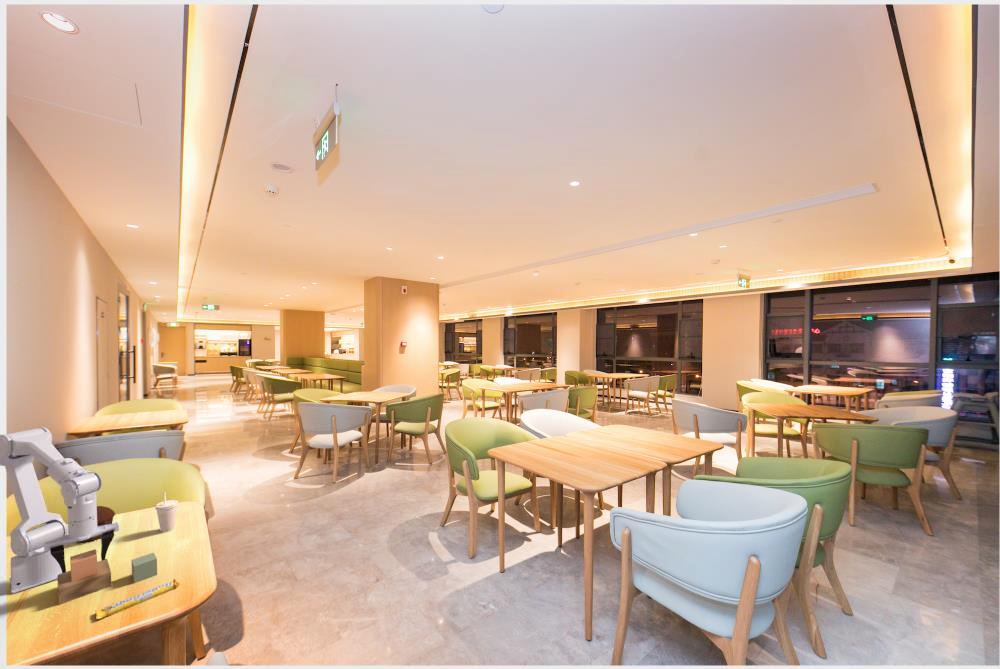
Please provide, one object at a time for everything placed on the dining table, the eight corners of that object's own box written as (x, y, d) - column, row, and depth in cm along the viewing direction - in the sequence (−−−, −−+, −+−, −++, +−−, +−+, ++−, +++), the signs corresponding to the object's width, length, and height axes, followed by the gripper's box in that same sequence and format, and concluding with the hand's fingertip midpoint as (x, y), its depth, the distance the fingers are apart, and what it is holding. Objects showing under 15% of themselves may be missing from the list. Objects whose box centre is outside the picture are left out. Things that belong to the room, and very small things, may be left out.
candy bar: (176, 582, 115) (176, 576, 115) (180, 588, 112) (180, 582, 112) (94, 616, 102) (94, 608, 102) (96, 623, 99) (96, 616, 99)
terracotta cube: (71, 581, 109) (71, 563, 109) (70, 574, 112) (70, 556, 112) (97, 572, 113) (96, 555, 112) (96, 565, 116) (95, 549, 116)
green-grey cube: (134, 583, 114) (134, 566, 114) (131, 576, 117) (131, 559, 117) (157, 575, 118) (156, 558, 118) (154, 568, 121) (153, 552, 121)
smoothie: (155, 529, 144) (154, 491, 144) (177, 523, 149) (176, 486, 148) (156, 536, 140) (155, 497, 139) (179, 529, 144) (178, 491, 144)
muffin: (81, 532, 143) (80, 505, 142) (121, 525, 147) (120, 499, 147) (62, 549, 132) (61, 519, 132) (106, 541, 137) (105, 512, 136)
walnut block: (59, 604, 105) (58, 590, 105) (57, 588, 112) (57, 574, 112) (111, 585, 113) (110, 572, 113) (107, 571, 120) (107, 558, 119)
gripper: (43, 532, 104) (45, 583, 104) (119, 512, 115) (121, 558, 115) (43, 524, 109) (45, 572, 109) (116, 505, 120) (118, 549, 120)
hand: (84, 565), depth 112 cm, fingers open, 7 cm apart
